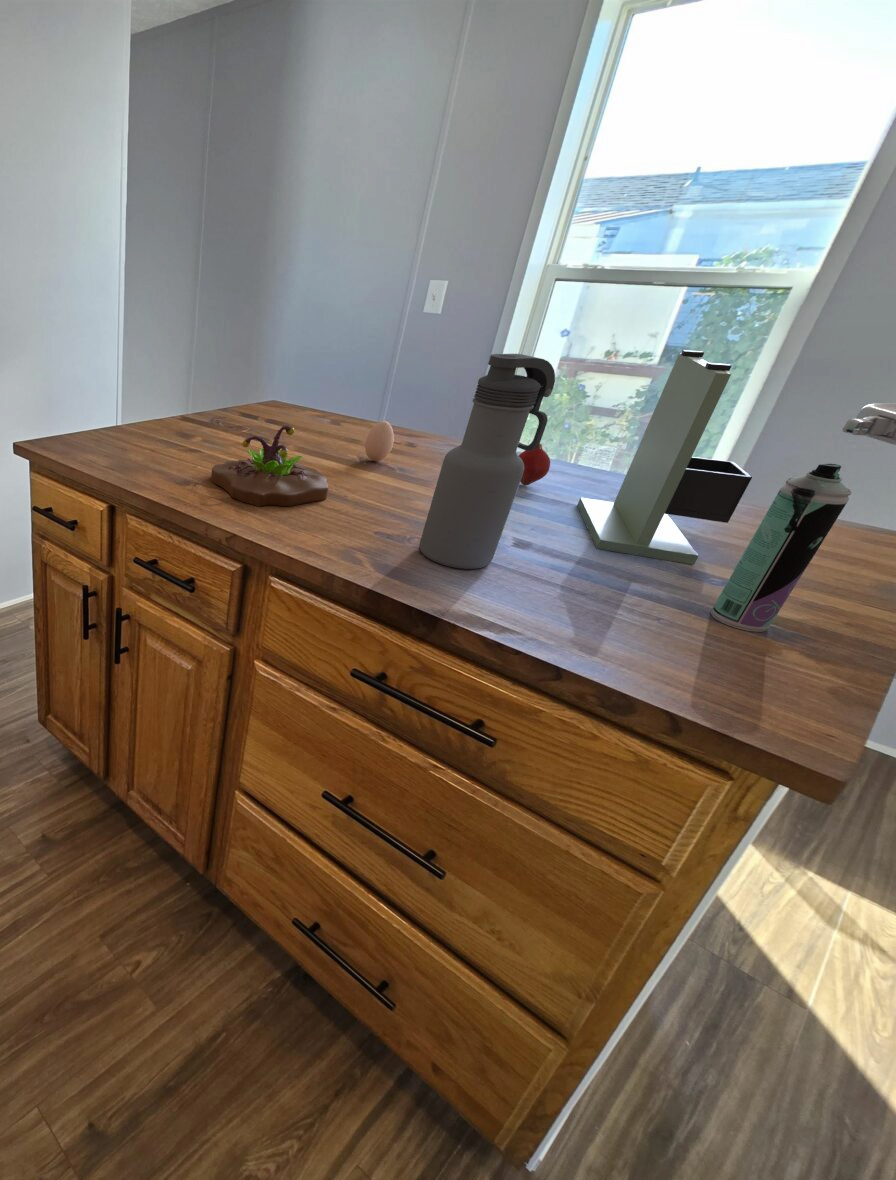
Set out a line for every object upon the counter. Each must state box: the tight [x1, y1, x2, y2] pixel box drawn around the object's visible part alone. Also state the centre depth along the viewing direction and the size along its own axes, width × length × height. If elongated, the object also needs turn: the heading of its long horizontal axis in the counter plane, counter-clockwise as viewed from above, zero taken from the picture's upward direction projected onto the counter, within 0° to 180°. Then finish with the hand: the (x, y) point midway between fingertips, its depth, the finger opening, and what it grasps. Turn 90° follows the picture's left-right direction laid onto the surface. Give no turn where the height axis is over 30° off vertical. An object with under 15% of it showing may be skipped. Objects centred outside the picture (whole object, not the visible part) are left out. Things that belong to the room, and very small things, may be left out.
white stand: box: [576, 349, 753, 566], centre depth 98 cm, size 16×20×27 cm
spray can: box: [710, 463, 853, 633], centre depth 76 cm, size 6×6×20 cm
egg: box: [364, 420, 395, 462], centre depth 133 cm, size 5×5×8 cm
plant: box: [210, 424, 329, 507], centre depth 118 cm, size 20×20×11 cm
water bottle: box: [418, 353, 556, 570], centre depth 89 cm, size 10×10×28 cm
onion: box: [518, 443, 551, 486], centre depth 122 cm, size 6×6×8 cm
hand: (884, 437), depth 81 cm, fingers open, 8 cm apart
